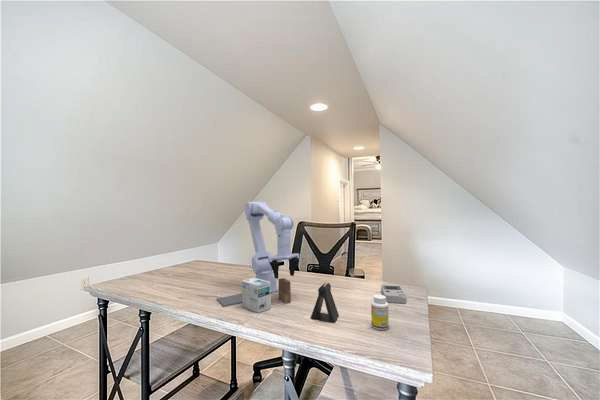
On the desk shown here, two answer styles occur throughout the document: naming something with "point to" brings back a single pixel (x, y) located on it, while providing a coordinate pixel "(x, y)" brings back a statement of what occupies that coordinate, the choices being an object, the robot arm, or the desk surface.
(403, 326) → the desk surface
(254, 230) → the robot arm
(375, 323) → the supplement bottle
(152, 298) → the desk surface
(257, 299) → the light bulb box
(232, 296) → the rubber mat
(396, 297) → the handheld gaming device
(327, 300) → the black triangular stand
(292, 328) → the desk surface
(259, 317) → the desk surface
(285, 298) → the brown rectangular block
